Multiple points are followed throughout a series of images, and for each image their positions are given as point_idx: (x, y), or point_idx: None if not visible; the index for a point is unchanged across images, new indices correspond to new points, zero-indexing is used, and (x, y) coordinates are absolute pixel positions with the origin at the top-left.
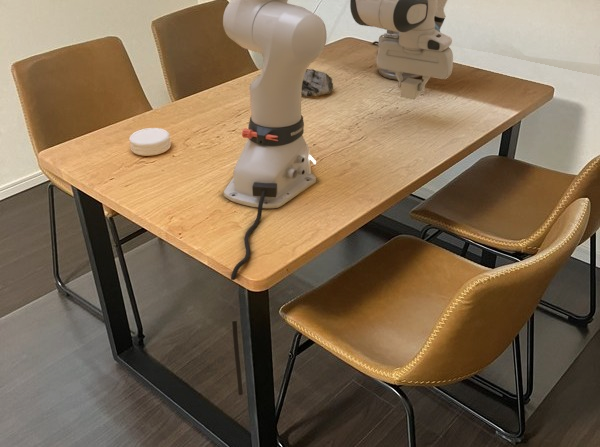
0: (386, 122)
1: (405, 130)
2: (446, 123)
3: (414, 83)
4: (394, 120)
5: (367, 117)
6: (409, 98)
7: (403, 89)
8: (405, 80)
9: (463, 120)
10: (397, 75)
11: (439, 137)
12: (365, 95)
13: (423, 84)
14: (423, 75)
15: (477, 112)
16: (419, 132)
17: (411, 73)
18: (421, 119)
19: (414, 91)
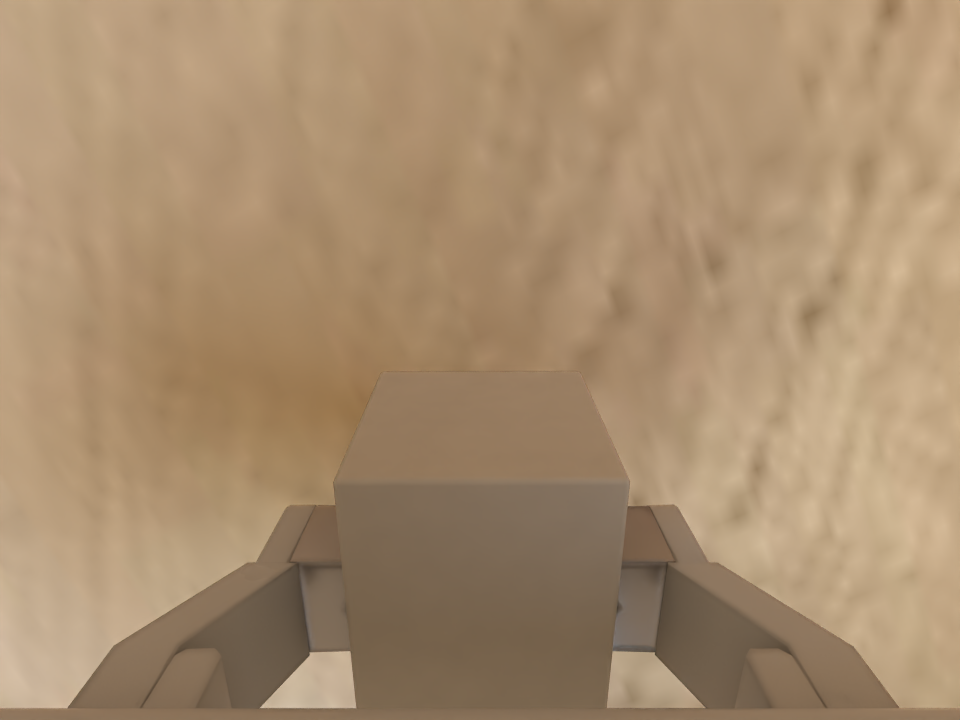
0: (625, 190)
1: (394, 95)
2: (168, 413)
3: (391, 546)
4: (573, 269)
5: (827, 215)
6: (448, 373)
7: (558, 419)
8: (598, 604)
9: (95, 520)
10: (797, 640)
11: (53, 97)
12: (948, 618)
13: (231, 574)
14: (109, 708)
15: None
16: (262, 117)
17: (459, 710)
18: None
19: (366, 421)
